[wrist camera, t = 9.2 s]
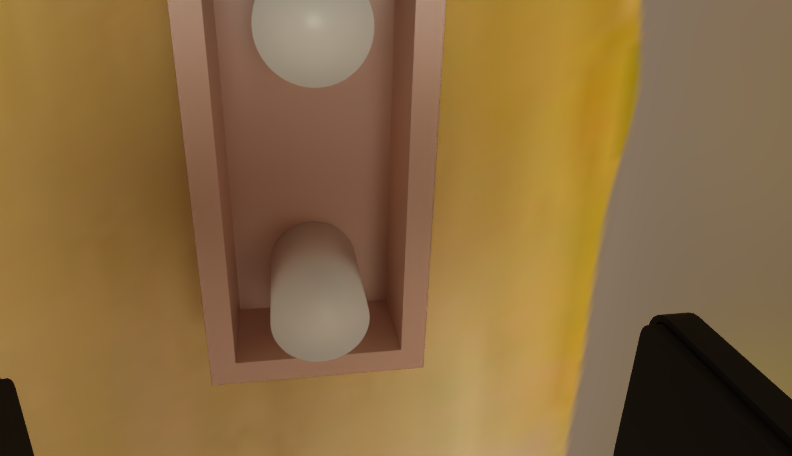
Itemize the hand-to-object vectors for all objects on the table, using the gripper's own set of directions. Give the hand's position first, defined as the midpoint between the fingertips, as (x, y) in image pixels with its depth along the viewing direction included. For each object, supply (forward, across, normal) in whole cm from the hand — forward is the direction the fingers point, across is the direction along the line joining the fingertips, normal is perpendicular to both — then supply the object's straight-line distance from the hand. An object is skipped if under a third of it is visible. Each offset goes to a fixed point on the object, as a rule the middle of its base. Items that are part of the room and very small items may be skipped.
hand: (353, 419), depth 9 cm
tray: (+14, 0, 0) cm, 14 cm away
